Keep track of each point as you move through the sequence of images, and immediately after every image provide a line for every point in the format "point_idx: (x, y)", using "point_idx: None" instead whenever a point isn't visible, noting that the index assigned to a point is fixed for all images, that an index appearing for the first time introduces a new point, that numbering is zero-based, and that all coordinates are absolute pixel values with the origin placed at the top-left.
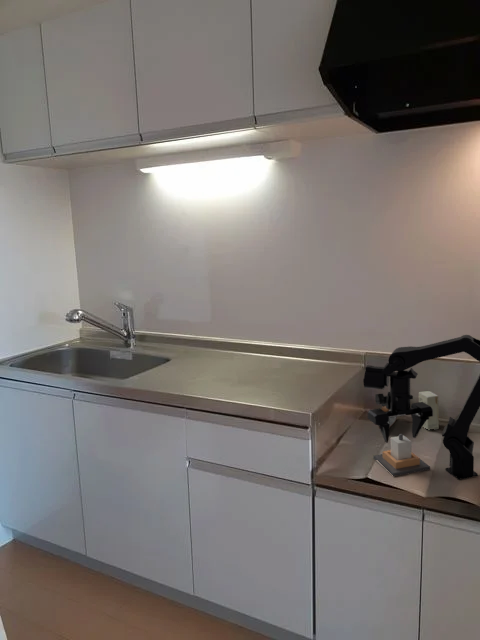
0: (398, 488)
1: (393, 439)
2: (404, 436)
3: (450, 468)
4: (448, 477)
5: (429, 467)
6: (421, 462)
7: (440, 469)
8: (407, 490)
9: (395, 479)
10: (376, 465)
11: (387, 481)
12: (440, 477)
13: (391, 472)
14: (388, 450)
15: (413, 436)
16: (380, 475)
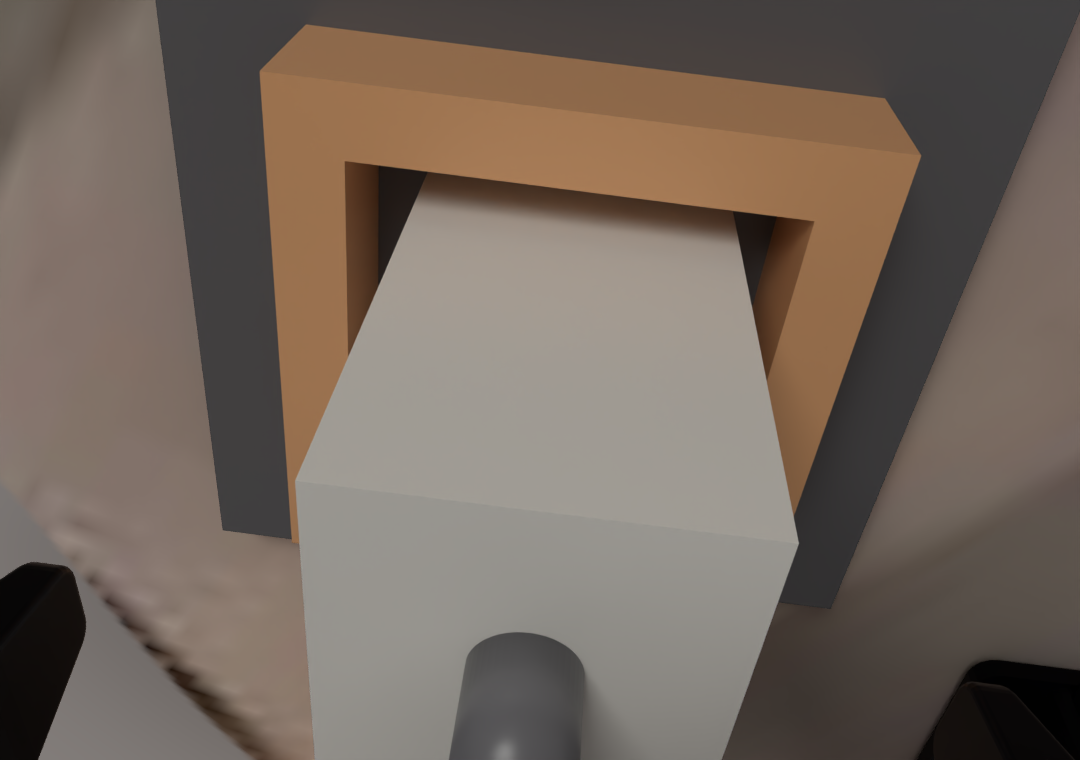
0: (183, 677)
1: (319, 597)
2: (757, 607)
3: (1035, 701)
4: (847, 748)
5: (821, 595)
6: (826, 491)
7: (945, 618)
8: (258, 729)
9: (238, 551)
10: (126, 124)
11: (117, 543)
12: (769, 717)
13: (223, 489)
14: (425, 100)
15: (956, 739)
16: (78, 405)
